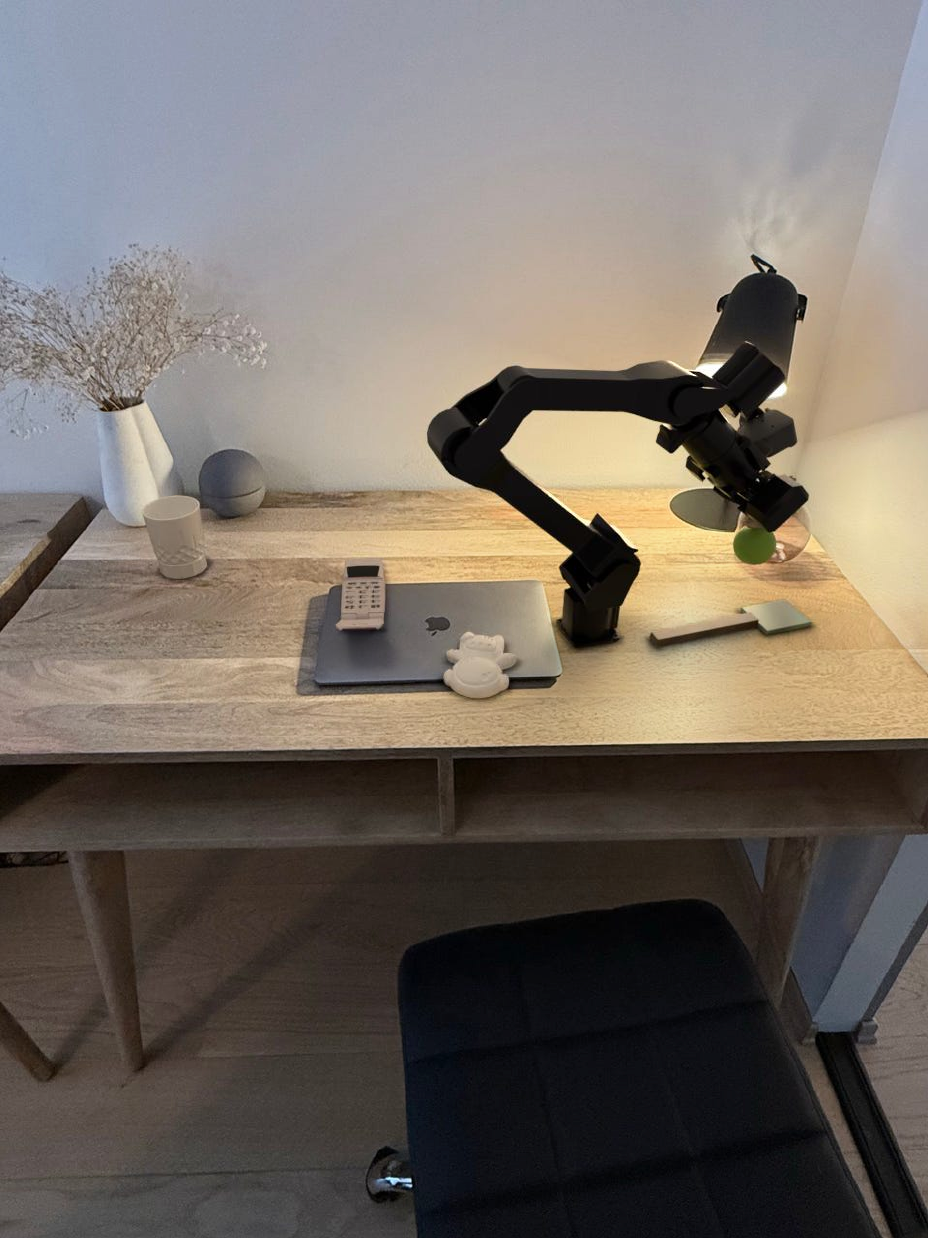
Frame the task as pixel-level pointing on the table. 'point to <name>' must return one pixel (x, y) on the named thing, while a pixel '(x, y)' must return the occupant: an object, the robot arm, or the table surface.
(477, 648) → the white animal figurine
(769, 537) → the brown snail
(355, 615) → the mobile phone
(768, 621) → the spatula
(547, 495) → the robot arm
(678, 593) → the table surface
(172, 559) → the white cup
